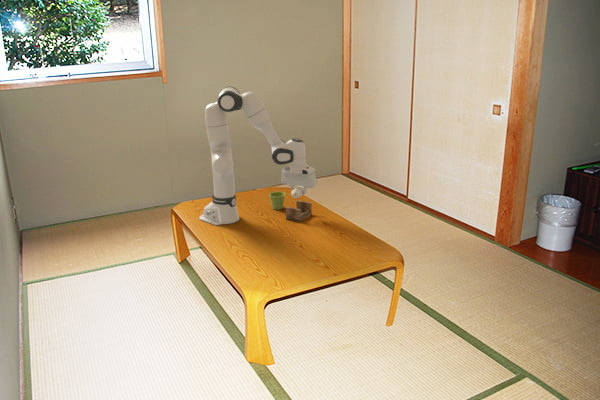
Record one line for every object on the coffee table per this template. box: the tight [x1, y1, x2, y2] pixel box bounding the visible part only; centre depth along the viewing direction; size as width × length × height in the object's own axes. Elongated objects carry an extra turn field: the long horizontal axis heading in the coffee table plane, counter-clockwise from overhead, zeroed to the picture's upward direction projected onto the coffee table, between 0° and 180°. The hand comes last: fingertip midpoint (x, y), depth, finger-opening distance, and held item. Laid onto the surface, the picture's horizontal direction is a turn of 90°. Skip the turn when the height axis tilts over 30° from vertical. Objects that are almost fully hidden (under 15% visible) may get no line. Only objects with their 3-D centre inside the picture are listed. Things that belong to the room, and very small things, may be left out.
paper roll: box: [290, 186, 308, 199], centre depth 288 cm, size 8×5×5 cm, turn 151°
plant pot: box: [268, 191, 286, 211], centre depth 306 cm, size 9×9×9 cm
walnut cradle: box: [285, 199, 313, 223], centre depth 292 cm, size 9×13×7 cm
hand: (299, 193), depth 288 cm, fingers closed on paper roll, 5 cm apart
